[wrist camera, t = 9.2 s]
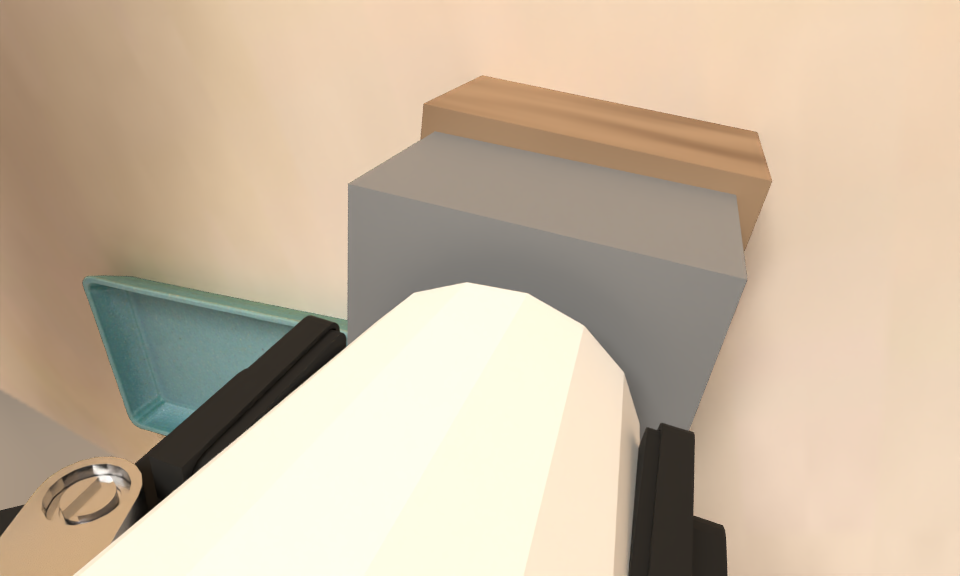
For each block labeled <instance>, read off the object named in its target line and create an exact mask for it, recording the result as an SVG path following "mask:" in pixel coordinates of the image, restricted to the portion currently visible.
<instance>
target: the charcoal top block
mask: <svg viewBox="0 0 960 576" xmlns="http://www.w3.org/2000/svg"><path fill="white" fill-rule="evenodd" d="M465 282H469V283H474V284H479V285H485V286H490V287H496V288H501V289H507V290H512V291H518V292H523V293H528V294H530V295H531V296H533V297H535V298H537V299H538V300H540V301H542V302H544V303H545V304H547V305H549V306H551V307H552V308H554V309H556V310H558V311H559V312H561V313H563V314H565V315H566V316H568V317H570V318H572V319H573V320H575V321H577V322H579V323H580V324H582V325H584V326H585V327H586V328H587V330H588V331H589V332H590V333H591V334H592V335H593V337H594V338H595V339H596V340H597V341H598V342H599V344H600V345H601V346H602V347H603V348H604V350H605V351H606V352H607V353H608V354H609V355H610V357H611V358H612V359H613V360H614V361H615V363H616V364H617V365H618V366H619V367H620V368H621V370H622V371H623V372H624V374H625V377H626V381H627V384H628V387H629V390H630V394H631V397H632V400H633V404H634V407H635V410H636V413H637V417H638V420H639V423H640V442H641V439H642V437H643V434H644V431H645V429H646V427H649V428H652V429H655V430H657V429H658V427H659V425H660V423H665V424H668V425H671V426H675V427H678V428H681V429H684V430H688V431H689V429H690V426H691V424H692V421H693V419H694V416H695V413H696V411H697V408H698V406H699V403H700V401H701V398H702V395H703V393H704V390H705V388H706V385H707V382H708V380H709V377H710V375H711V372H712V370H713V367H714V364H715V362H716V359H717V357H718V354H719V351H720V349H721V346H722V344H723V341H724V339H725V336H726V333H727V331H728V328H729V326H730V323H731V320H732V318H733V315H734V313H735V310H736V307H737V305H738V302H739V300H740V297H741V295H742V292H743V289H744V287H745V284H746V282H747V273H746V266H745V258H744V250H743V243H742V235H741V228H740V220H739V212H738V205H737V197H736V195H734V194H730V193H725V192H720V191H715V190H711V189H706V188H701V187H696V186H692V185H687V184H682V183H677V182H673V181H668V180H663V179H659V178H654V177H649V176H644V175H640V174H635V173H630V172H625V171H621V170H616V169H611V168H606V167H602V166H597V165H592V164H587V163H583V162H578V161H573V160H569V159H564V158H559V157H554V156H550V155H545V154H540V153H535V152H531V151H526V150H521V149H516V148H512V147H507V146H502V145H497V144H493V143H488V142H483V141H479V140H474V139H469V138H464V137H460V136H455V135H450V134H445V133H441V132H436V131H435V132H433V133H431V134H430V135H428V136H426V137H425V138H423V139H422V140H420V141H418V142H417V143H415V144H413V145H412V146H410V147H408V148H407V149H405V150H403V151H402V152H400V153H398V154H397V155H395V156H393V157H392V158H390V159H388V160H387V161H385V162H384V163H382V164H380V165H379V166H377V167H375V168H374V169H372V170H370V171H369V172H367V173H365V174H364V175H362V176H360V177H359V178H357V179H355V180H354V181H352V182H350V183H349V184H348V329H347V346H348V345H349V344H351V343H352V342H353V341H354V340H355V339H357V338H358V337H359V336H360V335H361V334H362V333H364V332H365V331H366V330H367V329H368V328H370V327H371V326H372V325H373V324H374V323H376V322H377V321H378V320H379V319H381V318H382V317H383V316H385V315H386V314H387V313H388V312H390V311H391V310H392V309H394V308H395V307H396V306H398V305H399V304H400V303H401V302H403V301H404V300H405V299H407V298H408V297H409V296H410V295H412V294H413V293H416V292H421V291H426V290H430V289H435V288H440V287H445V286H450V285H455V284H460V283H465Z"/></svg>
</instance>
